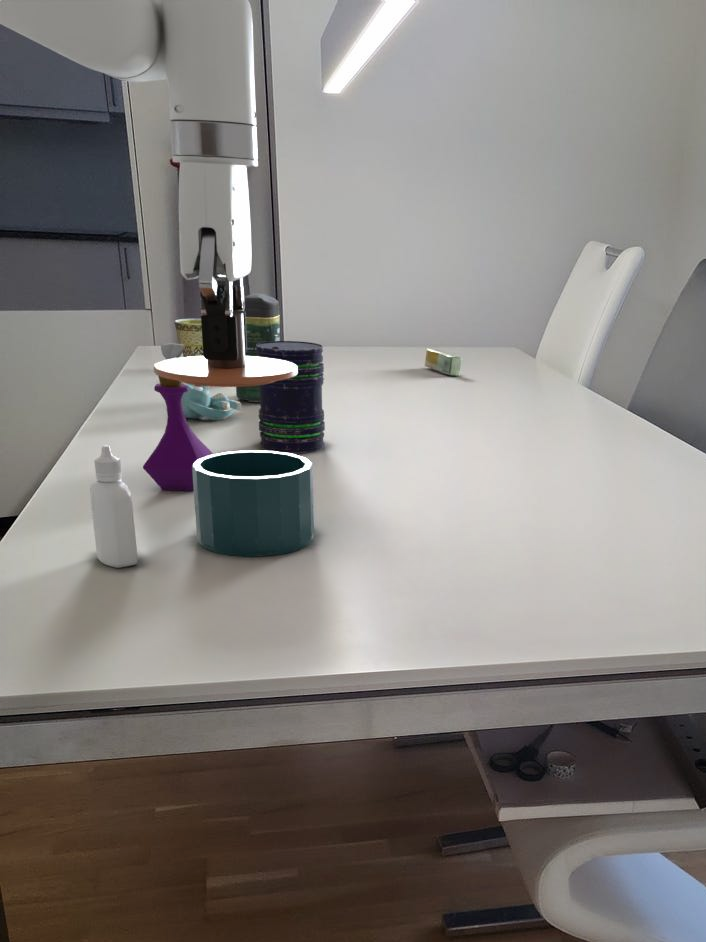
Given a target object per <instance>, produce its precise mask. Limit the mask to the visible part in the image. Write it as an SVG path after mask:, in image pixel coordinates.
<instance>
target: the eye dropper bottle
mask: <svg viewBox="0 0 706 942" xmlns="http://www.w3.org/2000/svg"><path fill="white" fill-rule="evenodd" d="M100 452H101V453H100V456H99V457H97V458H95V459H94V460H93V461H94V470H95V478H96V479H95V480H96V481H94V482H93V483H92V484H91V486H90V488H89V495H90V502H91V503H90V506H91V514H92V515H91V516H92V525H93V534H94V543H95V551H96V552H95V553H96V557H97V559H98V561H100V562H101V564H104V565H106V566H108V567H111V568H115V569H118V568H119V569H120V568H126V567H127V568H128V567H131V566H135V565H137V564H138V561H139V560H138V559H139V558H138V547H137V536H136V527H135V526H136V525H135V517H134V516H135V515H134V507H133V498H132V491H131V490H130V488H129V486H127V484H126V483H125V482H124V481H123V480H122V479H123V478H122V477H123V476H122V465H121V459H120V458H119V457H117V456H115V455H114V454H113V453H112V450H111V446H110V445H109V444H103V445H102V446H101V451H100Z"/></svg>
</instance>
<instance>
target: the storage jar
mask: <svg viewBox="0 0 706 942" xmlns="http://www.w3.org/2000/svg"><path fill="white" fill-rule="evenodd" d="M323 347H324V346H323V344H320V343H314V342H309V341H297V340H280V341H271V342H262V343H258V344H257V345H256V350H257V351H258V354H257V357H264V358H272V359H279V360H284V361H288V362H291V363H293V364H295V365H297V367H298V374H297V375H296V376H294V377H292V378H289V379H284V380H279V381H275V382H273V383H269V384H264V385H260V402H259V404H260V405H259V406H260V408H259V410H258V420H259V421H258V430H259V431H260V432H259V437H260V448H261V449H263V451H275V452H283V453H290V454H307V453H308V454H309V453H314V452H315V453H316V452H318V451H321V450H323V449H324V448H325V441H324V437H325V432H324V431H325V430H326V429H325V428H326V421H324V420H325V411H324V409H323V385H324V380H325V378H324V372H325V370H324V369H325V366H324V363H323V362H324V356H323V351H324V350H323V349H324V348H323Z"/></svg>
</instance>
